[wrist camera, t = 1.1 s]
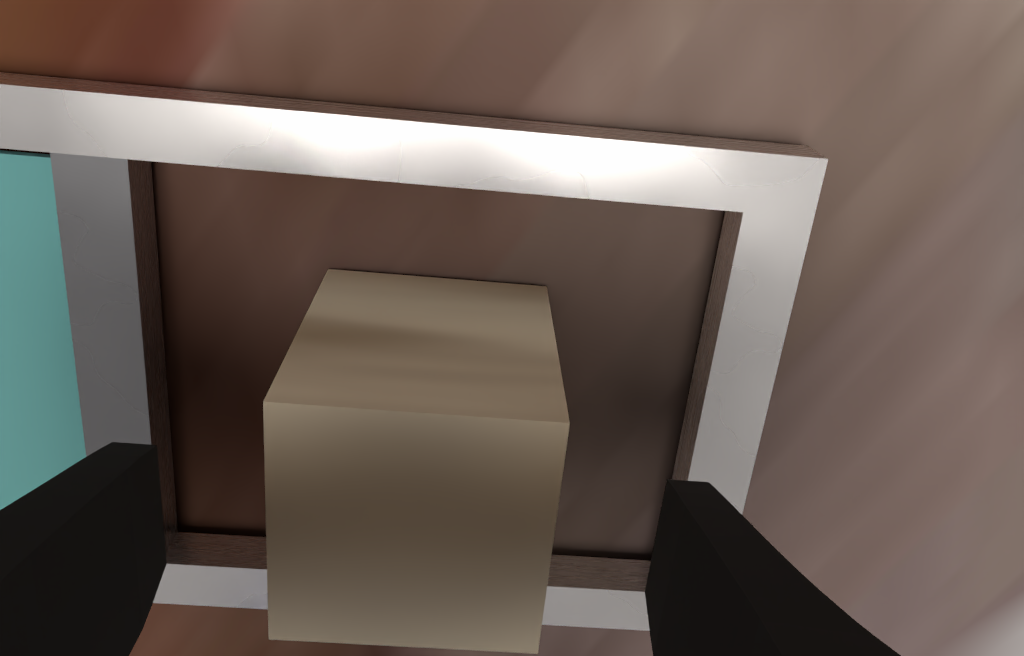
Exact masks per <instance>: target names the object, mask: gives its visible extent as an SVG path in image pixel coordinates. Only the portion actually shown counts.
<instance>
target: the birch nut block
mask: <svg viewBox="0 0 1024 656" xmlns="http://www.w3.org/2000/svg"><path fill="white" fill-rule="evenodd" d="M263 421H264V464H265V506H266V549H267V592H268V635H269V639H270V640H289V641H308V642H326V643H345V644H364V645H383V646H401V647H420V648H439V649H457V650H476V651H495V652H513V653H532V654H538V648H539V641H540V634H541V627H542V620H543V613H544V605H545V598H546V591H547V584H548V577H549V569H550V562H551V555H552V548H553V541H554V534H555V526H556V519H557V512H558V505H559V498H560V491H561V483H562V476H563V469H564V462H565V455H566V448H567V440H568V433H569V426H570V421H569V415H568V409H567V403H566V397H565V392H564V386H563V380H562V374H561V368H560V362H559V356H558V350H557V345H556V339H555V333H554V327H553V321H552V315H551V309H550V303H549V298H548V292H547V286H535V285H523V284H510V283H498V282H485V281H472V280H460V279H447V278H435V277H422V276H410V275H397V274H384V273H372V272H359V271H347V270H334V269H328V270H327V272H326V274H325V276H324V278H323V280H322V282H321V284H320V286H319V289H318V291H317V293H316V295H315V297H314V299H313V301H312V303H311V305H310V307H309V309H308V311H307V313H306V315H305V317H304V319H303V321H302V323H301V325H300V327H299V329H298V331H297V333H296V335H295V338H294V340H293V342H292V344H291V346H290V348H289V350H288V352H287V354H286V356H285V358H284V360H283V362H282V364H281V366H280V368H279V370H278V372H277V374H276V376H275V378H274V380H273V382H272V384H271V387H270V389H269V391H268V393H267V395H266V397H265V399H264V401H263Z"/></svg>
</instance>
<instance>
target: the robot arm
mask: <svg viewBox="0 0 1024 656" xmlns="http://www.w3.org/2000/svg"><path fill="white" fill-rule="evenodd" d="M166 564H167V560H166V548H165V536H164V524H163V512H162V500H161V488H160V476H159V464H158V451H157V445H150V444H135V443H120V442H111V443H110V444H108V445H106V446H104V447H102V448H100V449H99V450H97V451H95V452H93V453H92V454H90V455H88V456H87V457H85V458H83V459H82V460H80V461H79V462H77V463H75V464H74V465H72V466H71V467H69V468H67V469H66V470H64V471H63V472H61V473H59V474H58V475H56V476H55V477H53V478H51V479H50V480H48V481H47V482H45V483H43V484H42V485H40V486H39V487H37V488H35V489H34V490H32V491H31V492H29V493H27V494H26V495H24V496H22V497H21V498H19V499H17V500H16V501H14V502H13V503H11V504H9V505H8V506H6V507H4V508H3V509H1V510H0V656H129V654H130V652H131V650H132V649H133V647H134V645H135V643H136V641H137V639H138V637H139V635H140V633H141V631H142V629H143V627H144V624H145V622H146V619H147V616H148V614H149V611H150V609H151V606H152V603H153V601H154V598H155V595H156V592H157V590H158V587H159V584H160V581H161V578H162V575H163V573H164V570H165V567H166ZM645 598H646V606H647V614H648V622H649V629H650V636H651V643H652V650H653V656H901V655H899V654H898V653H897V652H895V651H894V650H892V649H891V648H890V647H888V646H887V645H886V644H884V643H883V642H882V641H880V640H879V639H878V638H876V637H875V636H874V635H872V634H871V633H870V632H869V631H867V630H866V629H865V628H864V627H862V626H861V625H860V624H859V623H857V622H856V621H855V620H854V619H852V618H851V617H850V616H849V615H848V614H847V613H846V612H844V611H843V610H842V609H841V608H840V607H839V606H837V605H836V604H835V603H834V602H833V601H832V600H830V599H829V598H828V597H827V596H826V595H825V594H823V593H822V592H821V591H820V590H819V589H818V588H817V587H816V586H814V585H813V584H812V583H811V582H810V581H809V580H808V579H807V578H806V577H805V576H804V575H802V574H801V573H800V572H799V571H798V570H797V569H796V568H795V567H794V566H793V565H792V564H791V563H790V562H789V561H788V560H787V559H786V558H785V557H784V556H782V555H781V554H780V553H779V552H778V551H777V550H776V549H775V548H774V547H773V546H772V545H771V544H770V543H769V542H768V541H767V540H766V539H765V538H764V537H763V536H762V535H761V534H760V533H759V532H758V531H757V530H756V529H755V528H754V527H753V526H752V525H751V524H750V523H749V522H748V521H747V520H746V519H745V518H744V516H743V515H742V514H741V513H740V512H739V511H738V510H737V509H736V508H735V507H734V506H733V505H732V504H731V503H730V502H729V501H728V500H727V499H726V498H725V497H724V496H723V495H722V494H721V493H720V492H719V491H718V490H717V489H716V488H715V487H714V486H712V485H711V484H710V483H709V482H700V481H685V480H670V479H667V482H666V487H665V492H664V497H663V502H662V507H661V513H660V518H659V523H658V528H657V533H656V538H655V543H654V548H653V553H652V558H651V563H650V568H649V573H648V578H647V583H646V588H645Z"/></svg>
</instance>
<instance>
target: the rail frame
mask: <svg viewBox="0 0 1024 656" xmlns="http://www.w3.org/2000/svg"><path fill="white" fill-rule="evenodd" d="M0 148H3V149H14V150H26V151H38V152H49V153H50V155H48V154H37V153H25V152H14V151H2V150H0V510H1V509H3V508H4V507H6V506H8V505H9V504H11V503H13V502H14V501H16V500H17V499H19V498H21V497H22V496H24V495H26V494H27V493H29V492H31V491H32V490H34V489H35V488H37V487H39V486H40V485H42V484H43V483H45V482H47V481H48V480H50V479H51V478H53V477H55V476H56V475H58V474H59V473H61V472H63V471H64V470H66V469H67V468H69V467H71V466H72V465H74V464H75V463H77V462H79V461H80V460H82V459H83V458H85V457H87V456H88V455H90V454H92V453H93V452H95V451H97V450H99V449H100V448H102V447H104V446H106V445H108V444H110V443H111V442H120V443H135V444H150V445H157V451H158V464H159V476H160V488H161V500H162V512H163V524H164V536H165V548H166V560H167V564H166V567H165V570H164V573H163V575H162V578H161V581H160V584H159V587H158V590H157V592H156V595H155V598H154V601H153V603H164V604H182V605H199V606H217V607H235V608H253V609H268V592H267V549H266V537H254V536H237V535H221V534H205V533H188V532H178V526H177V513H176V499H175V485H174V471H173V458H172V444H171V430H170V416H169V403H168V389H167V375H166V361H165V348H164V334H163V320H162V306H161V293H160V279H159V265H158V251H157V238H156V224H155V210H154V196H153V182H152V169H151V161H154V162H165V163H177V164H189V165H200V166H212V167H223V168H235V169H247V170H258V171H270V172H281V173H293V174H305V175H316V176H328V177H339V178H351V179H363V180H374V181H386V182H397V183H409V184H421V185H432V186H444V187H456V188H467V189H479V190H490V191H502V192H514V193H525V194H537V195H548V196H560V197H572V198H583V199H595V200H606V201H618V202H630V203H641V204H653V205H664V206H676V207H688V208H699V209H711V210H723V211H725V215H724V220H723V225H722V230H721V235H720V240H719V245H718V250H717V255H716V260H715V265H714V270H713V275H712V280H711V285H710V290H709V295H708V300H707V305H706V310H705V315H704V320H703V325H702V330H701V336H700V341H699V346H698V351H697V356H696V361H695V366H694V371H693V376H692V381H691V386H690V391H689V396H688V401H687V406H686V411H685V416H684V421H683V426H682V431H681V436H680V441H679V446H678V451H677V456H676V461H675V466H674V471H673V476H672V480H685V481H700V482H709V483H710V484H711V485H712V486H714V487H715V488H716V489H717V490H718V491H719V492H720V493H721V494H722V495H723V496H724V497H725V498H726V499H727V500H728V501H729V502H730V503H731V504H732V505H733V506H734V507H735V508H736V509H737V510H738V511H739V512H740V513H741V514H742V513H743V509H744V505H745V501H746V496H747V492H748V488H749V484H750V480H751V476H752V472H753V468H754V463H755V459H756V455H757V451H758V447H759V443H760V439H761V435H762V430H763V426H764V422H765V418H766V414H767V410H768V406H769V402H770V397H771V393H772V389H773V385H774V381H775V377H776V373H777V369H778V364H779V360H780V356H781V352H782V348H783V344H784V340H785V335H786V331H787V327H788V323H789V319H790V315H791V311H792V307H793V302H794V298H795V294H796V290H797V286H798V282H799V278H800V274H801V269H802V265H803V261H804V257H805V253H806V249H807V245H808V241H809V236H810V232H811V228H812V224H813V220H814V216H815V212H816V208H817V203H818V199H819V195H820V191H821V187H822V183H823V179H824V174H825V170H826V166H827V162H828V159H827V158H826V157H824V156H823V155H821V154H820V153H818V152H816V151H815V150H813V149H812V148H810V147H809V146H803V145H792V144H781V143H770V142H759V141H748V140H737V139H726V138H715V137H704V136H693V135H682V134H672V133H661V132H650V131H639V130H628V129H617V128H606V127H595V126H584V125H573V124H562V123H551V122H540V121H529V120H518V119H507V118H496V117H485V116H474V115H463V114H452V113H441V112H430V111H420V110H409V109H398V108H387V107H376V106H365V105H354V104H343V103H332V102H321V101H310V100H299V99H288V98H277V97H266V96H255V95H244V94H233V93H222V92H211V91H200V90H189V89H178V88H168V87H157V86H146V85H135V84H124V83H113V82H102V81H91V80H80V79H69V78H58V77H47V76H36V75H25V74H14V73H3V72H0ZM650 563H651V561H647V560H630V559H614V558H598V557H581V556H565V555H551V562H550V569H549V577H548V584H547V591H546V598H545V605H544V613H543V620H542V625H556V626H574V627H591V628H609V629H627V630H645V631H650V629H649V622H648V614H647V606H646V598H645V588H646V583H647V578H648V573H649V568H650Z"/></svg>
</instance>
